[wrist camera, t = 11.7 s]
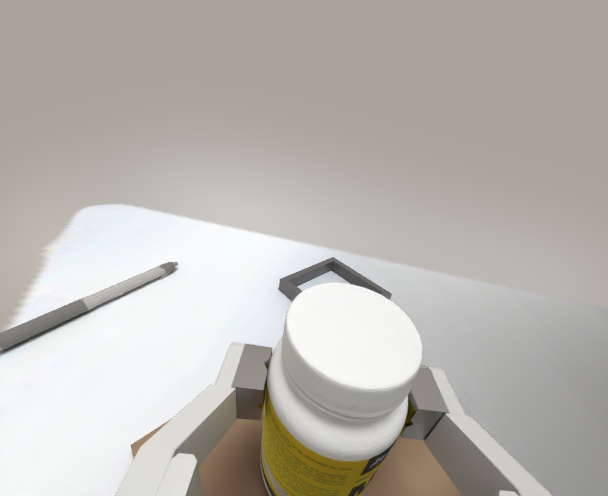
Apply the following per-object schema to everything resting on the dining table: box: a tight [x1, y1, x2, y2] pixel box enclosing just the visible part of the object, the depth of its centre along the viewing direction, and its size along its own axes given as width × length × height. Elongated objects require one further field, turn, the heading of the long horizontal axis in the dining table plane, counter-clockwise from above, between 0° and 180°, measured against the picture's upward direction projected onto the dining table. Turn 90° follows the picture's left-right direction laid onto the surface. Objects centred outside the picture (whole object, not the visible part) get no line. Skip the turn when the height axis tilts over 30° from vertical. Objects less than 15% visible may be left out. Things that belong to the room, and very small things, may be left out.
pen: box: [0, 262, 178, 351], centre depth 19 cm, size 1×14×1 cm, turn 148°
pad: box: [131, 356, 462, 496], centre depth 12 cm, size 12×12×1 cm
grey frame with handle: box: [279, 257, 392, 301], centre depth 22 cm, size 11×8×1 cm
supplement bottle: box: [260, 283, 423, 496], centre depth 9 cm, size 5×5×8 cm
